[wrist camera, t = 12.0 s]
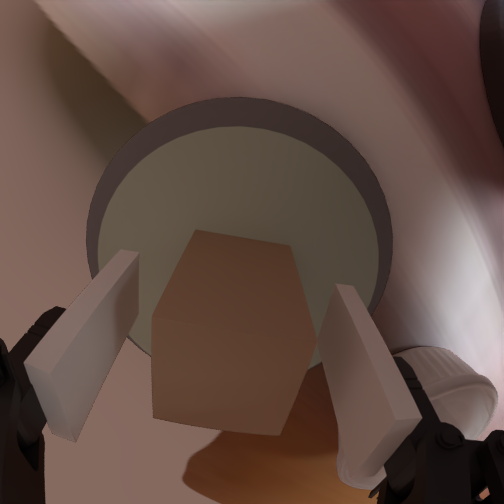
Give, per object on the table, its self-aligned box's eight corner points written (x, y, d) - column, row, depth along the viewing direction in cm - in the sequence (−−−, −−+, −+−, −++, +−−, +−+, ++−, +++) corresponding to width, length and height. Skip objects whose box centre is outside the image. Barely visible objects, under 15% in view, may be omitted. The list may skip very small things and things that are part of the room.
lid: (114, 111, 12) (1, 111, 5) (404, 164, 13) (515, 206, 6) (109, 351, 17) (61, 447, 10) (327, 385, 18) (351, 489, 11)
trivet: (104, 86, 12) (96, 85, 12) (418, 141, 13) (426, 142, 12) (101, 349, 18) (96, 357, 17) (337, 384, 19) (339, 393, 18)
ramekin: (488, 331, 18) (526, 376, 13) (424, 432, 22) (443, 476, 17) (357, 325, 17) (386, 391, 12) (307, 439, 21) (315, 496, 16)
